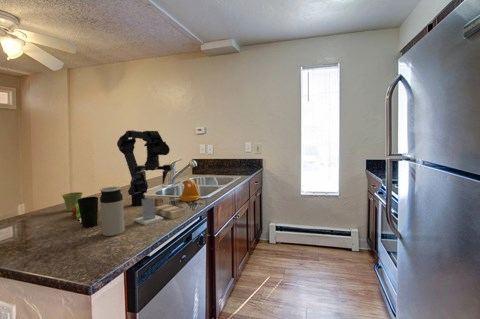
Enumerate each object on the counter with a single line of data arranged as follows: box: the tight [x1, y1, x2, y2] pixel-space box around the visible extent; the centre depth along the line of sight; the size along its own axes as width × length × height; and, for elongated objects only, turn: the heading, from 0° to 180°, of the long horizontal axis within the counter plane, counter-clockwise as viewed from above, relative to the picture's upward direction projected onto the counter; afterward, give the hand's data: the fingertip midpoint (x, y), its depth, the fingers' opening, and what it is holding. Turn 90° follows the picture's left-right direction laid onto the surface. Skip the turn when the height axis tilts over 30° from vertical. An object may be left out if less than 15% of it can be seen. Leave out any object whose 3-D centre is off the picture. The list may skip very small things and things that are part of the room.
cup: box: [77, 196, 99, 229], centre depth 111 cm, size 8×8×12 cm
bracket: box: [178, 178, 201, 202], centre depth 154 cm, size 11×7×12 cm, turn 82°
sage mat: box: [134, 214, 164, 226], centre depth 117 cm, size 9×9×1 cm
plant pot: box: [61, 191, 83, 212], centre depth 138 cm, size 9×9×9 cm
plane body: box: [153, 197, 186, 220], centre depth 128 cm, size 20×7×6 cm, turn 49°
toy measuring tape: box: [71, 204, 82, 224], centre depth 123 cm, size 6×20×7 cm, turn 35°
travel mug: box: [99, 186, 126, 237], centre depth 102 cm, size 8×8×18 cm
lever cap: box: [141, 197, 156, 220], centre depth 117 cm, size 4×5×9 cm
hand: (154, 184), depth 136 cm, fingers open, 9 cm apart
